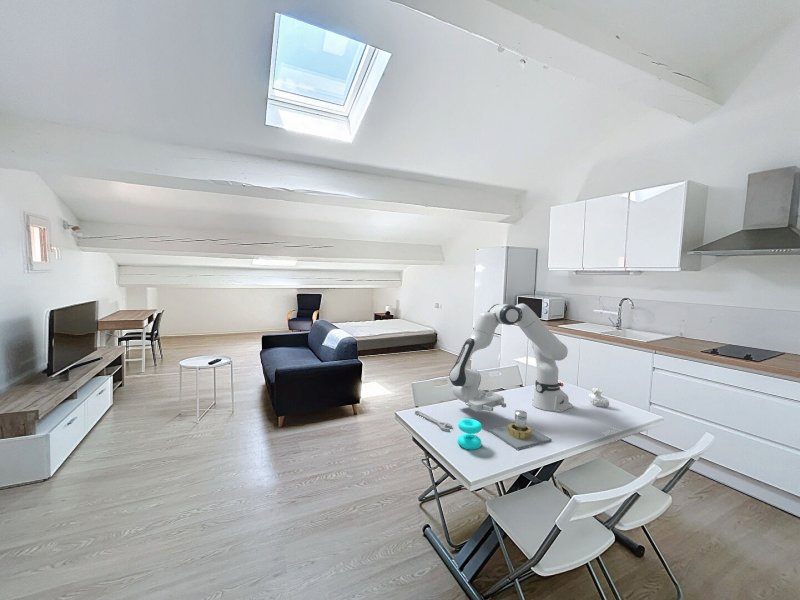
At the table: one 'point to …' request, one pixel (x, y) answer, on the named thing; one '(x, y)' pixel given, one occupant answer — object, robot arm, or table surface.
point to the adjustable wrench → (435, 422)
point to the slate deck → (519, 443)
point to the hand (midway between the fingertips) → (498, 407)
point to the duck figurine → (598, 398)
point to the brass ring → (519, 432)
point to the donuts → (469, 434)
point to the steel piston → (520, 420)
